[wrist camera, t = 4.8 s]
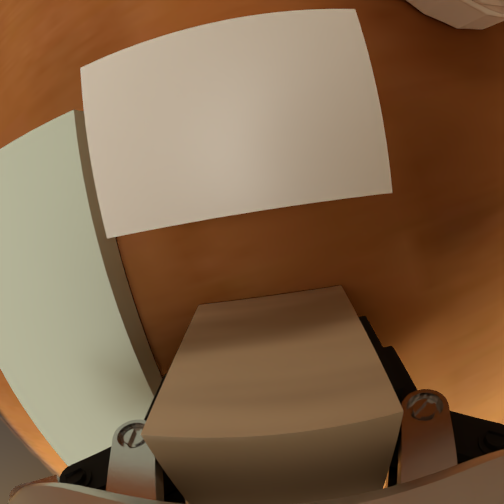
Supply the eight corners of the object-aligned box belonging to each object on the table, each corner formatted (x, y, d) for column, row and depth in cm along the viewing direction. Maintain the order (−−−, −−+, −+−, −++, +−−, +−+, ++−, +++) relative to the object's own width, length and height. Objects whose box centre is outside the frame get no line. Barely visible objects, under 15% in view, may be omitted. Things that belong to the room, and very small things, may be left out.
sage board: (-43, 187, 10) (-58, 190, 9) (92, 113, 9) (73, 109, 8) (84, 466, 15) (78, 478, 14) (214, 485, 14) (212, 500, 13)
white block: (144, 96, 9) (80, 67, 5) (323, 62, 8) (355, 9, 4) (164, 209, 10) (107, 238, 6) (345, 180, 9) (392, 192, 6)
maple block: (198, 304, 11) (140, 434, 5) (341, 285, 10) (403, 411, 4) (228, 405, 12) (207, 525, 6) (344, 391, 12) (374, 511, 6)
